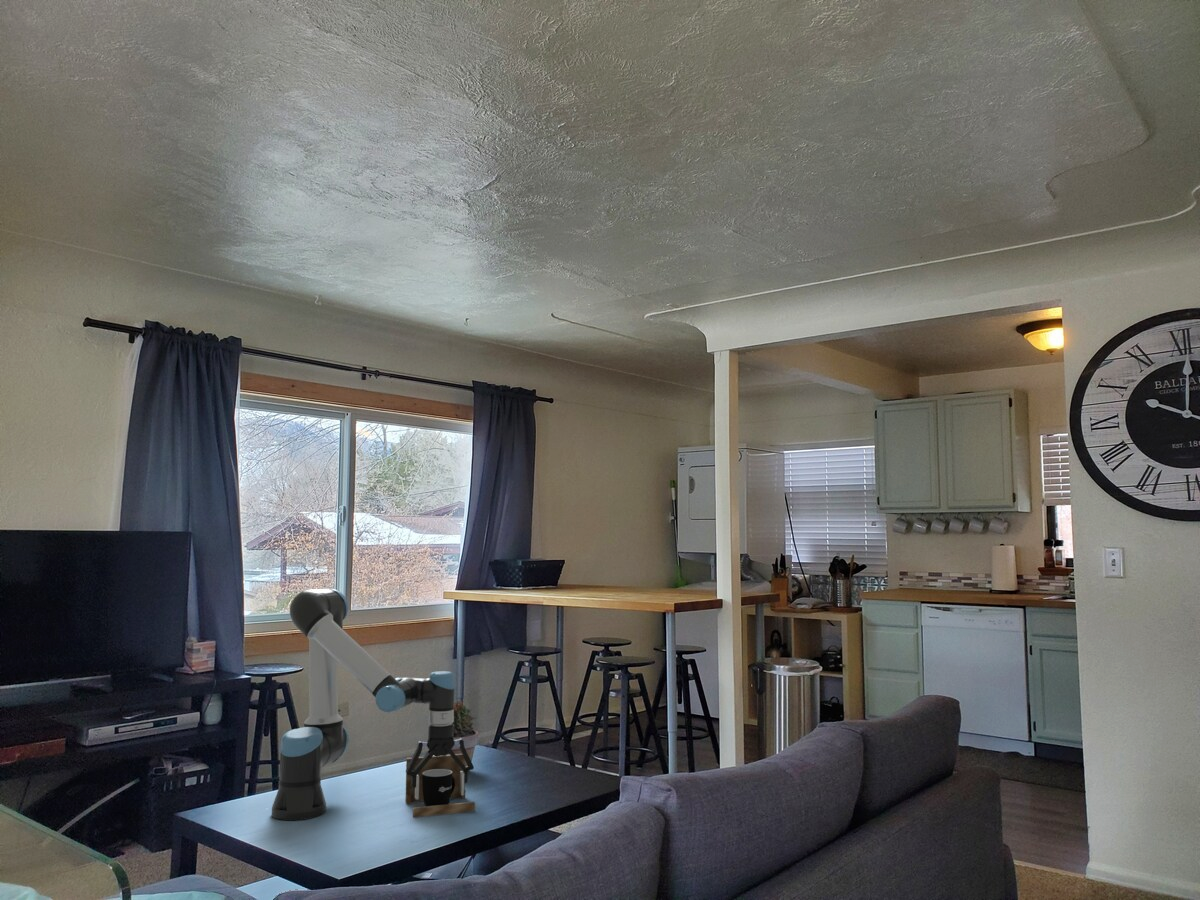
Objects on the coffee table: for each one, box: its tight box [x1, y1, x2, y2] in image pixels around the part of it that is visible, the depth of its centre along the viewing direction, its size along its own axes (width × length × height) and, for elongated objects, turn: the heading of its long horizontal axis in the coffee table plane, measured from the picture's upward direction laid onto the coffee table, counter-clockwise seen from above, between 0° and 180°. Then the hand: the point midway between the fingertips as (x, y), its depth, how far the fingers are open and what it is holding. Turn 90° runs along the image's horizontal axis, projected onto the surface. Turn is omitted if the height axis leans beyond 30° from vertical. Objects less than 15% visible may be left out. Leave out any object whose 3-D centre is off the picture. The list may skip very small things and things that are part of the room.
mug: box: [422, 769, 455, 807], centre depth 263 cm, size 12×9×10 cm
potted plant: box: [447, 701, 479, 774], centre depth 306 cm, size 18×20×25 cm
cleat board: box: [405, 754, 476, 818], centre depth 264 cm, size 18×17×13 cm
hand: (439, 796), depth 263 cm, fingers open, 13 cm apart
